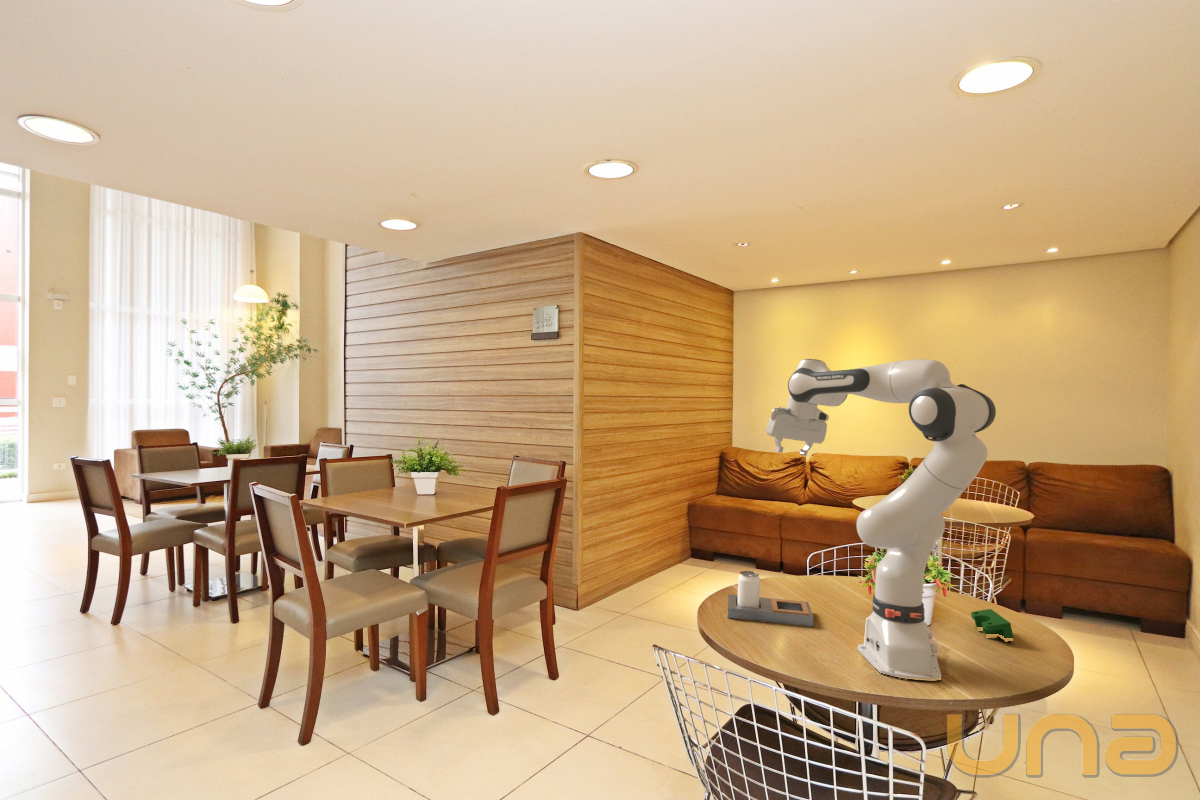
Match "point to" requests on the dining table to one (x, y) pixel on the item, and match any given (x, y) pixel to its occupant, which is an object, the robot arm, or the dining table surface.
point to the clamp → (992, 623)
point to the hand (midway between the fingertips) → (790, 453)
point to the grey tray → (773, 611)
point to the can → (748, 589)
